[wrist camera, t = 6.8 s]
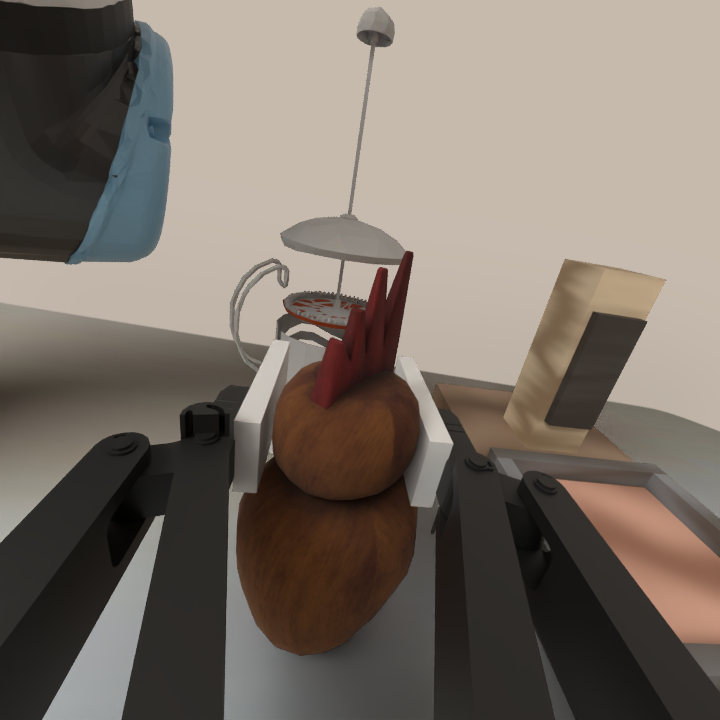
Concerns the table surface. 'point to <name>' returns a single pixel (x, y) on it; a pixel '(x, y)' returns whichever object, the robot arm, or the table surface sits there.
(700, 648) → the wooden tray stand
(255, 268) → the french press
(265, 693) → the table surface
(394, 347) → the wooden figurine
